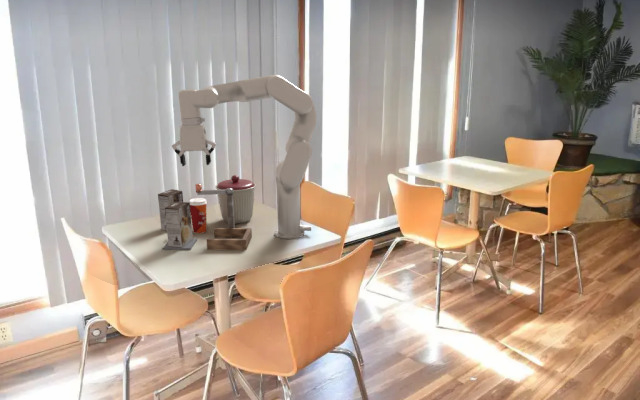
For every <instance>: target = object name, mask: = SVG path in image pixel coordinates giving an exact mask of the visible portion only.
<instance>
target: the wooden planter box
mask: <svg viewBox="0 0 640 400" xmlns="http://www.w3.org/2000/svg"><path fill="white" fill-rule="evenodd" d="M227 210H228V222H227V224H228V227H214V228H213V238H207V239H206V250H209V251H212V250H214V251H216V250H218V251H219V250H221V251H222V250H226V251H227V250H230V251H231V250H232V251H233V250H241V251H242V250H247V249H248V248H249V244H250V242H251V241H252V238H253V232H252V231H253V230H252V228H251V227H237V228H236V225H235V224H236V223H234V204H233V194H232V195H227Z"/></svg>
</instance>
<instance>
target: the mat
mask: <svg viewBox="0 0 640 400" xmlns="http://www.w3.org/2000/svg"><path fill="white" fill-rule="evenodd" d="M196 242H198V238H193V240H192V241H190V242H189V243H187V244H186V245H185V246H183V247H173V246H168V241H167V242H166V243H165V244H164V246H163V247H162V251H191V250H192V248H193V247H194V245H195V244H196Z"/></svg>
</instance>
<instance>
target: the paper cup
mask: <svg viewBox="0 0 640 400" xmlns="http://www.w3.org/2000/svg"><path fill="white" fill-rule="evenodd" d="M188 202H190V213H191V224H192V233H194V234H203V233H206V232H207V222H208V221H207V220H208V219H207V203H208V201H207V199H206V198H203V197H196V198H195V197H194V198H191V199H189V201H188Z"/></svg>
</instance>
